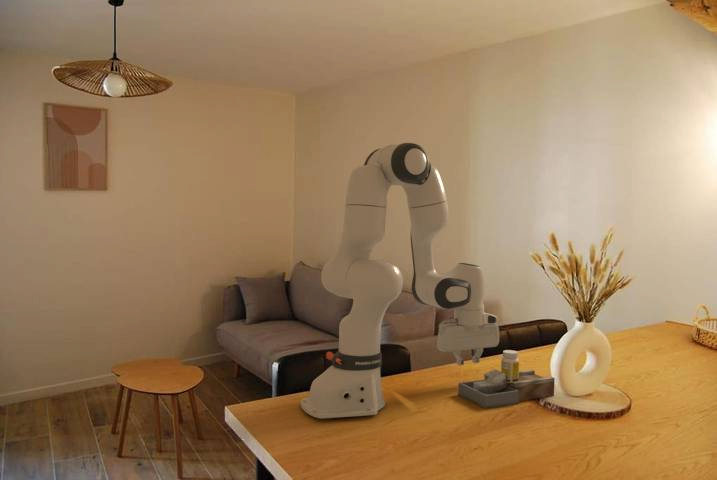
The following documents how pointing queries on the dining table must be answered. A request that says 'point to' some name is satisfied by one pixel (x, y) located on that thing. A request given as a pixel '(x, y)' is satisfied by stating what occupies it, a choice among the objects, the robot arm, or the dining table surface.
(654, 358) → the dining table surface
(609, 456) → the dining table surface
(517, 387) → the channel block
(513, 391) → the bin
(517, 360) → the supplement bottle
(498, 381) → the grey small cube
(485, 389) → the beige cube
